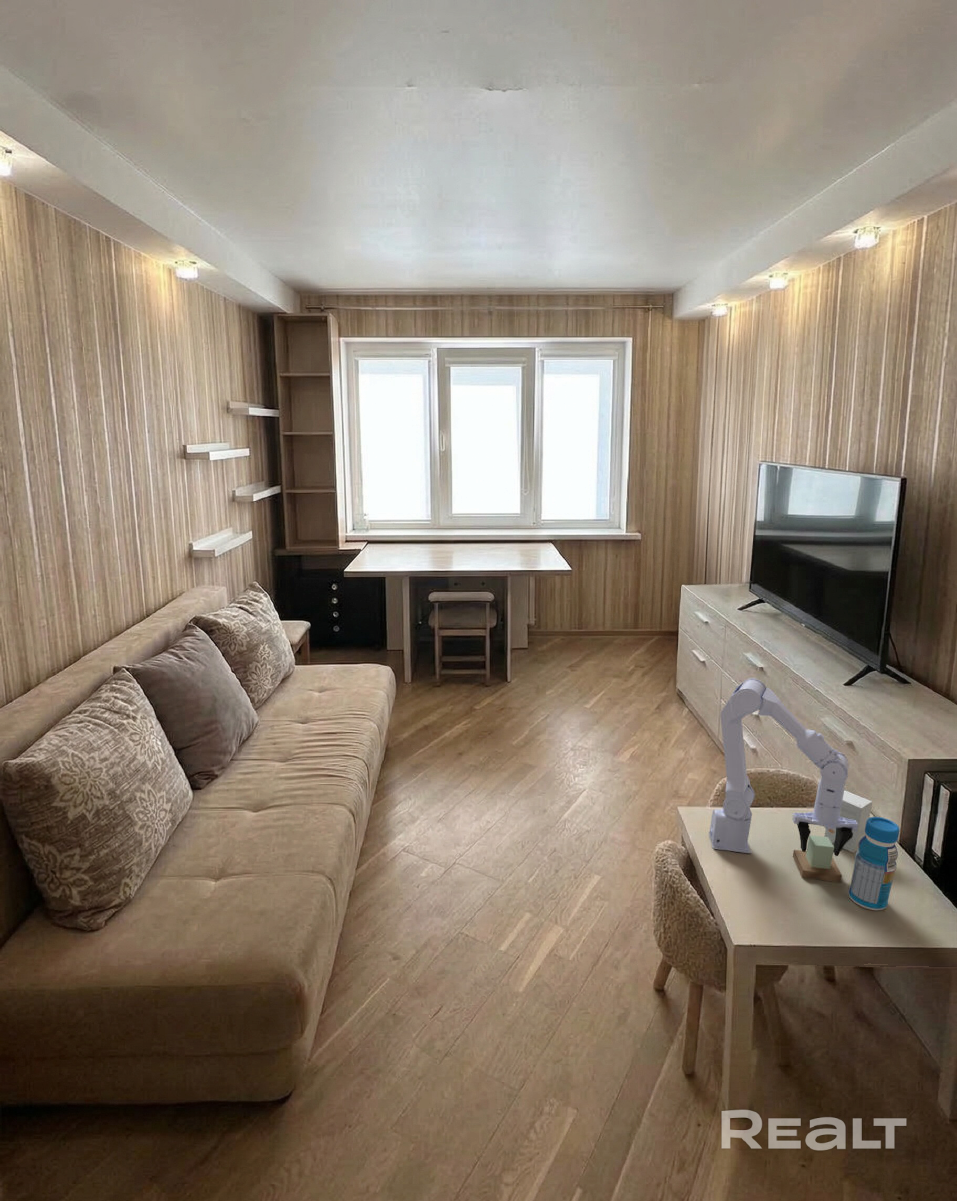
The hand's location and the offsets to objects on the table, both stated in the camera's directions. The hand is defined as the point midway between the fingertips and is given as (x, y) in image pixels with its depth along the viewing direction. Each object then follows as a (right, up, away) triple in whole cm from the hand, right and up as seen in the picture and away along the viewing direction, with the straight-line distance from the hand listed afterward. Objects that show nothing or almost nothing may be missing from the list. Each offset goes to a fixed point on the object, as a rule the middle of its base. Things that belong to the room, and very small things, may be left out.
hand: (819, 851), depth 187 cm
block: (0, -3, +1) cm, 3 cm away
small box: (+13, -2, +14) cm, 19 cm away
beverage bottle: (+7, -8, -10) cm, 15 cm away
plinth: (0, -5, +1) cm, 5 cm away
